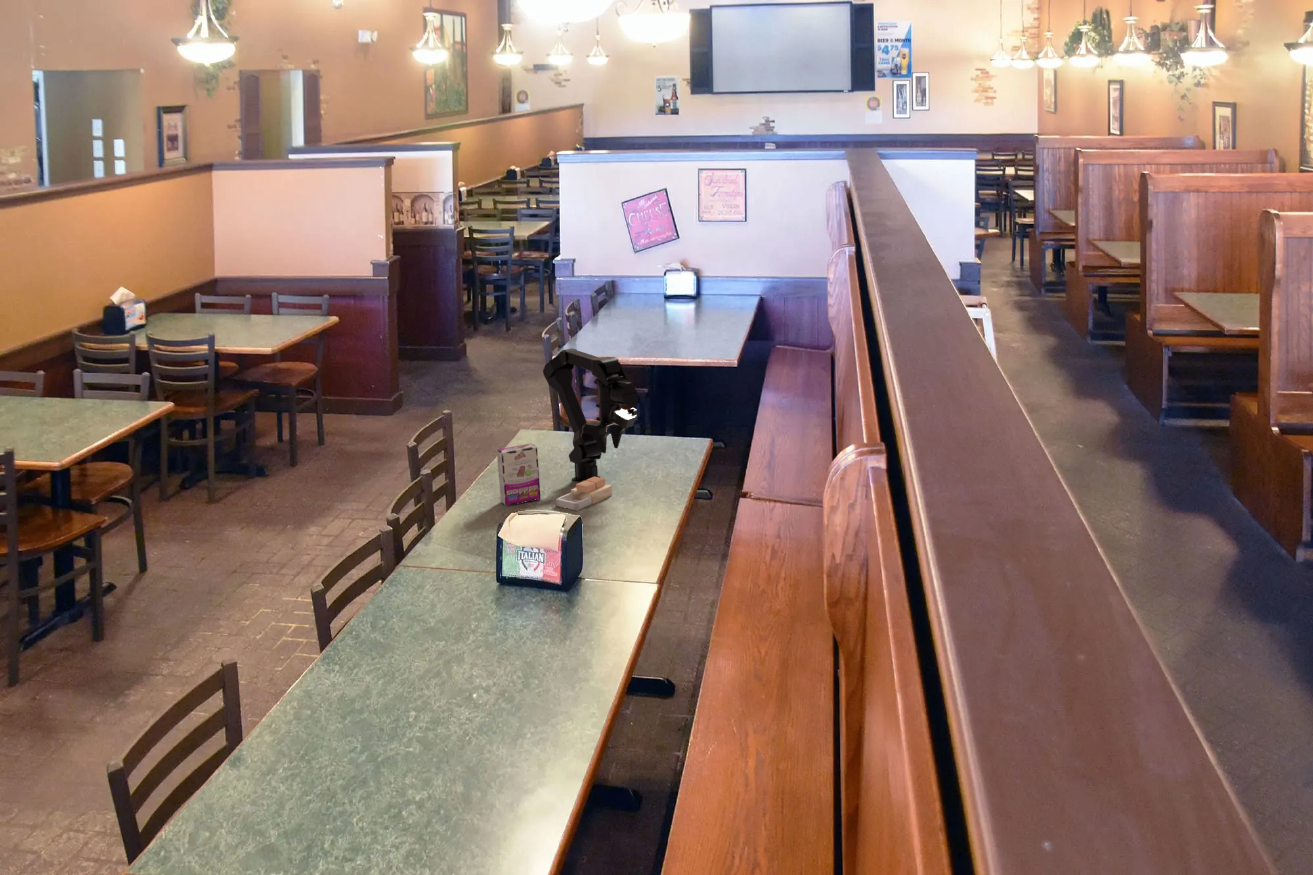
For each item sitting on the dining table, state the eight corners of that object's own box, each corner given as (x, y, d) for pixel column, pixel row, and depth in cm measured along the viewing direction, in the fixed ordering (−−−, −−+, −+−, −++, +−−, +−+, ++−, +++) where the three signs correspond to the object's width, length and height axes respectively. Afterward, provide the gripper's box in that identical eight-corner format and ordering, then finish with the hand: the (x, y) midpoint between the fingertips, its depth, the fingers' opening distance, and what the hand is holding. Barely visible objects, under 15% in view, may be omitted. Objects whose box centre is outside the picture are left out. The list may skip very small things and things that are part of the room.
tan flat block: (571, 499, 337) (570, 489, 336) (591, 490, 344) (590, 481, 343) (592, 504, 332) (592, 494, 332) (612, 495, 340) (611, 485, 339)
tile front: (576, 490, 335) (576, 484, 335) (585, 486, 338) (584, 480, 338) (587, 493, 333) (586, 486, 332) (595, 489, 336) (595, 482, 335)
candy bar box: (534, 495, 341) (531, 442, 337) (541, 500, 337) (538, 446, 332) (499, 501, 336) (495, 448, 332) (505, 506, 332) (502, 452, 327)
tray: (555, 506, 331) (555, 498, 331) (571, 499, 337) (570, 492, 336) (576, 510, 327) (576, 503, 326) (591, 504, 333) (591, 496, 332)
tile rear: (586, 486, 339) (585, 480, 338) (594, 482, 342) (594, 476, 341) (596, 488, 336) (596, 482, 336) (605, 485, 339) (604, 478, 339)
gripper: (610, 410, 326) (612, 462, 331) (648, 396, 341) (650, 446, 345) (580, 405, 332) (582, 456, 337) (619, 392, 347) (620, 441, 351)
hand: (610, 450), depth 342 cm, fingers open, 6 cm apart
